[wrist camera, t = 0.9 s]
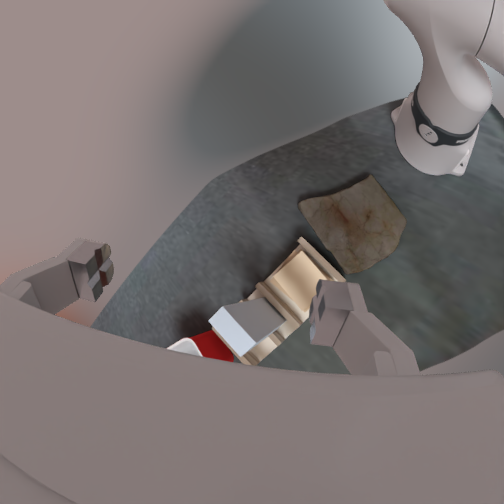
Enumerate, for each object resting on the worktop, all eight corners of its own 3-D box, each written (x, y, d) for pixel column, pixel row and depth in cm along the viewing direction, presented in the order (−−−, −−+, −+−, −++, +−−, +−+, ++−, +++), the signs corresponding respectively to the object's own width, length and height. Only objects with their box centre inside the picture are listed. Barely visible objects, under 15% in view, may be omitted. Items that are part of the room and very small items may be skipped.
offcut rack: (305, 240, 51) (301, 236, 45) (345, 280, 48) (346, 280, 43) (223, 324, 54) (211, 328, 48) (258, 362, 51) (250, 370, 46)
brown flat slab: (297, 207, 52) (293, 201, 48) (359, 165, 49) (361, 155, 45) (347, 283, 48) (348, 283, 44) (412, 237, 45) (418, 234, 41)
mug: (216, 325, 54) (189, 334, 44) (238, 361, 52) (216, 377, 42) (174, 351, 56) (143, 362, 46) (193, 384, 54) (166, 401, 44)
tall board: (266, 296, 50) (222, 306, 31) (288, 319, 49) (256, 343, 30) (256, 306, 51) (208, 320, 32) (278, 328, 49) (240, 357, 30)
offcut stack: (301, 248, 49) (296, 244, 44) (335, 282, 47) (334, 282, 41) (272, 278, 50) (263, 278, 45) (305, 312, 48) (301, 316, 42)
